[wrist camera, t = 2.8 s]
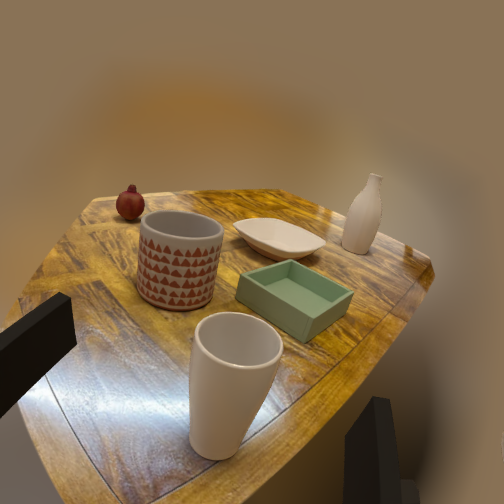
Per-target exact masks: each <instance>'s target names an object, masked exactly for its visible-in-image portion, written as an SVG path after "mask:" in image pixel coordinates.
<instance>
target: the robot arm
mask: <svg viewBox="0 0 504 504" xmlns="http://www.w3.org/2000/svg"><path fill="white" fill-rule="evenodd" d="M76 345H77V341H76V335H75V328H74V321H73V313H72V304H71V297H69V296H67V295H65V294H63V293H61V292H58V293H57V294H55V295H54V296H52V297H51V298H49V299H48V300H47V301H45V302H44V303H42V304H41V305H39V306H38V307H36V308H35V309H34V310H32V311H31V312H29V313H28V314H26V315H25V316H24V317H22V318H21V319H19V320H18V321H17V322H15V323H14V324H13V325H11V326H10V327H8V328H7V329H6V330H4V331H3V332H2V333H0V418H1V417H2V416H3V415H4V414H5V413H6V412H7V411H8V410H9V409H10V408H11V407H12V406H13V405H14V404H15V403H16V402H17V401H18V400H19V399H20V398H21V397H22V396H23V395H24V394H25V393H26V392H27V391H28V390H29V389H30V388H31V387H32V386H34V385H35V384H36V383H37V382H38V381H39V380H40V379H41V378H42V377H43V376H44V375H45V374H46V373H47V372H48V371H49V370H50V369H51V368H52V367H53V366H54V365H55V364H56V363H58V362H59V361H60V360H61V359H62V358H63V357H64V356H65V355H66V354H67V353H68V352H69V351H70V350H71V349H73V348H74V347H75V346H76ZM344 463H345V464H344V487H343V504H420V498H419V491H418V489H417V487H416V485H415V483H414V481H413V480H400V472H399V462H398V454H397V445H396V437H395V430H394V423H393V417H392V410H391V404H390V400H389V399H386V398H380V397H374V396H373V397H372V398H371V400H370V401H369V403H368V404H367V406H366V407H365V409H364V410H363V412H362V413H361V414H360V416H359V418H358V419H357V420H356V422H355V423H354V424H353V426H352V427H351V429H350V430H349V431H348V433H347V434H346V435H345V461H344Z"/></svg>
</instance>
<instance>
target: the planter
mask: <svg viewBox="0 0 504 504" xmlns="http://www.w3.org/2000/svg"><path fill="white" fill-rule="evenodd" d="M223 235H224V228H223V226H222V225H221V224H220V223H219V222H217V221H216V220H214V219H212V218H209V217H207V216H204V215H201V214H197V213H193V212H187V211H180V210H158V211H153V212H149V213H147V214H145V215H144V216H143V217H142V219H141V225H140V238H139V253H138V272H137V289H138V292H139V294H140V295H141V296H142V298H144V299H145V300H146V301H147V302H149V303H150V304H152V305H154V306H157V307H160V308H163V309H167V310H174V311H187V310H193V309H197V308H200V307H202V306H204V305H206V304H207V303H208V302H209V301H210V300H211V298H212V296H213V291H214V285H215V279H216V274H217V268H218V263H219V257H220V252H221V246H222V241H223Z"/></svg>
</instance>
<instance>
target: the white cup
mask: <svg viewBox="0 0 504 504" xmlns="http://www.w3.org/2000/svg"><path fill="white" fill-rule="evenodd" d="M282 353H283V341H282V339H281V337H280V335H279V334H278V332H277V331H276V330H275V329H274V328H273V327H272V326H271V325H269V324H268V323H266V322H265V321H263V320H261V319H259V318H257V317H254V316H251V315H248V314H244V313H238V312H220V313H215V314H212V315H209V316H207V317H205V318H204V319H202V320H201V321H200V322H199V323H198V325H197V327H196V329H195V333H194V338H193V343H192V349H191V355H190V364H189V416H190V430H189V441H190V444H191V446H192V448H193V449H194V451H195V452H196V453H198V454H199V455H200V456H202V457H204V458H207V459H210V460H224V459H227V458H229V457H231V456H233V455H234V454H235V453H236V452H237V451H238V449H239V447H240V444H241V442H242V440H243V438H244V436H245V434H246V433H247V431H248V429H249V427H250V425H251V424H252V422H253V420H254V418H255V417H256V415H257V413H258V411H259V409H260V408H261V406H262V404H263V402H264V400H265V398H266V396H267V394H268V392H269V390H270V388H271V386H272V383H273V381H274V378H275V376H276V373H277V370H278V366H279V363H280V360H281V356H282Z"/></svg>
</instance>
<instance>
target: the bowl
mask: <svg viewBox="0 0 504 504" xmlns="http://www.w3.org/2000/svg"><path fill="white" fill-rule="evenodd" d="M233 226H234V227H235V229H236V230H237V231H238V232H239V234H240V235H241V236H242V237H243V239H244V240H245V241H246V242H247V244H248V245H249V246H250V247H251V248H252V249H254V250H255V251H257V252H258V253H260V254H261V255H263V256H265V257H268V258H270V259H272V260H275V261H278V262H282V261H286V260H289V259H292V260H294V261H296V260H298V259H301V258H302V257H304V256H306V255H308V254H311V253H313V252H315V251H317V250H319V249H320V248H322V247H324V246H325V244H326V241H325V240H323V239H322V238H320V237H318V236H317V235H315V234H313V233H311V232H309V231H307V230H305V229H302V228H300V227H298V226H295V225H293V224H290V223H287V222H285V221H281V220H278V219H273V218H254V219H246V220H241V221H237V222H236V223H234V224H233Z"/></svg>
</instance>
